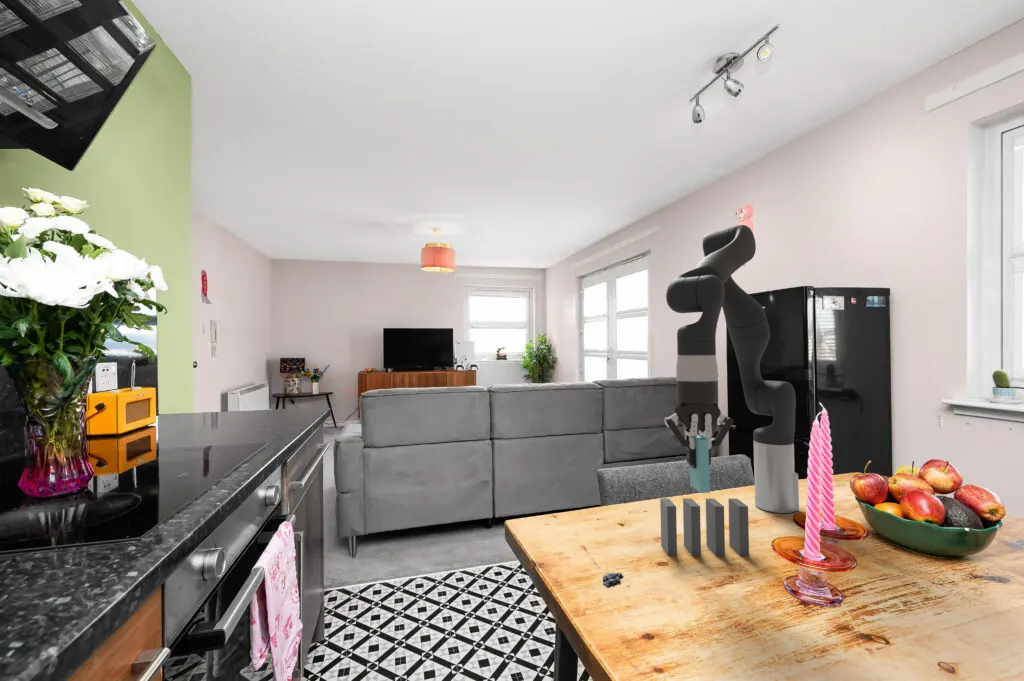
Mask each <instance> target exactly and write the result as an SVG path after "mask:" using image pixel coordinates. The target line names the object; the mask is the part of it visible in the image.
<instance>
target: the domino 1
mask: <svg viewBox="0 0 1024 681" xmlns="http://www.w3.org/2000/svg"><path fill="white" fill-rule="evenodd" d="M659 504H660V508H659V509H660V544H661V547H662V549H663V551H664V552H665V553H666V555H667V556H668V557H670V556H671V557H672V556H673V557H676V556H677V557H678V537H677V535H678V530H677V528H678V527H677V505H676V504H675V503H674V502H673V501H672V500H671V499H670V498H662V497H661V498H660V500H659Z"/></svg>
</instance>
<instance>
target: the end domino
mask: <svg viewBox="0 0 1024 681" xmlns="http://www.w3.org/2000/svg"><path fill="white" fill-rule="evenodd" d="M695 449H696V461H697V468H692V467H690V466H689V481H690V482H689V485H690V486H691V487H692V488H693V489H694V490H696V491H697V492H699V493H700V494H708V493H709V494H710V493H711V484H710V483H711V482H710V465H709V443H708V439H706V438H704V437H701V436H700V434H697V437H696V448H695Z"/></svg>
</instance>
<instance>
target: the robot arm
mask: <svg viewBox="0 0 1024 681" xmlns="http://www.w3.org/2000/svg"><path fill="white" fill-rule="evenodd" d="M756 249H757V246H756V238H755V235H754V233H753V231H752V229H751V228H750V227H749V226H747V225H745V224H738V225H737V224H736V225H732V226H729V227H726V228H723V229H719V230H716V231H712V232H709V233H707V234H705V235H704V236H703V239H702V251H703V255H704V257H703V258H701V259H700V260H699V262H698V263H696V265H695V266H694V267H693V268H692V269H690V270H687V271H685V272H684V273H681V274H679V275H678V276H676V277H675V278H673V280H671V282H670V283H669V284H668V287H667V289H666V293H665V299H666V302H667V303H666V304H667V305H668V307H669V308H670V309H671V310H672V311H673V312H675V313H676V314H677V313H678V314H690V313H691V314H692V313H702V314H701V316H700V317H699V318H698V321H695V322H692V323H690V324H685V325H682V326H680V327H679V328H678V329H677V332H676V341H677V342H676V344H677V345H676V351H677V353H676V354H677V358H676V359H677V360H676V366H675V368H676V370H675V371H676V375H675V376H676V402H677V403H676V407H675V409H674V413H673V414H671V415H670V416H668V417H667V416H665V417H664V418H663V419H662V421H663V423H664V425H665V426H666V428H667V429H668V430H669V433H670V434H671V435H672V437H673V439H674V440H675V442H676V443H677V444H678V445H681V446H682V447H685V448H686V463H687V464H688V465H689V468H690V467H692V468H697V461H696V449H695V448H696V437H697V435H699V436H701V437H704V438H706V439H708V443H709V466H711V463H712V452H711V451H712V449H713V447H716V446H718V447H719V446H721V444H722V443H723V441H724V439H725V437H726V436H727V434H728V432H729V431H730V429H731V427H732V426H733V424H734V419H733V418H732V417H728V416H726V415H724V414H723V413H721V409H720V407H719V371H718V370H719V369H718V361H717V348H716V347H717V346H716V345H717V342H716V340H717V339H716V337H717V335H716V334H717V328H718V322H719V318H720V314H721V310H722V311H723V315H724V319H725V323H726V328H727V330H728V334H729V337H730V340H731V343H732V347H733V350H734V352H735V357H736V360H737V364H738V367H739V368H738V369H739V372H740V373H739V374H740V379H741V384H742V389H743V394H744V395H743V396H744V400H745V403H746V406H747V407H748V410H749V411H750V412H751V413H753V414H756V415H760V416H768V417H769V416H770V417H773V419H772V423H771V424H770V425H767V426H764V427H763V426H762V427H759V428H756V429H754V430H753V435H752V436H753V467H754V468H753V469H754V470H753V471H754V474H753V475H754V479H753V480H754V505H755V507H757V508H759V509H761V510H763V511H767V512H770V513H771V512H772V513H778V514H790V513H794V512H799V511H800V497H799V494H800V491H799V490H800V489H799V488H800V486H799V474H798V473H797V472H795V444H794V443H795V442H794V441H795V440H794V438H795V431H796V408H797V407H796V406H797V404H796V403H797V399H796V398H797V396H796V391H795V388H794V386H793V385H792V383H790V382H788V381H784V380H783V381H781V380H767V379H766V380H764V379H763V377H762V374H761V369H760V364H761V360H762V358H763V355H764V353H765V351H766V350H767V347H768V344H769V341H770V338H771V330H770V325H769V323H768V318H767V314H766V310H765V309H764V307H762V305H761V304H760V303H759V302H758V301H757V300H756V299H755V298H753V297H752V296H751V294H749V293H747V292H746V291H745V290H744V289H743V288H742V287H741V286H739V285H738V284H737V283H736V281H735V280H734V279H733V277H732V275H733V274H734V273H735V272H737V271H738V270H739V269H740V268H741V267H742V266H744V265H745V264H746V263H748V262H750V261H751V260H752V259H753V258H754V256H755V254H756ZM679 422H680V423H681V424H682V425H683V427H684V435H685V437H684V436H683V434H682V433H681V431H680V430H679V428H678V425H679ZM716 422H717V426H716V427H715V429H714V430H713V429H712V428H713V426H714V425H715V424H716ZM712 431H713V432H712Z"/></svg>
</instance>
